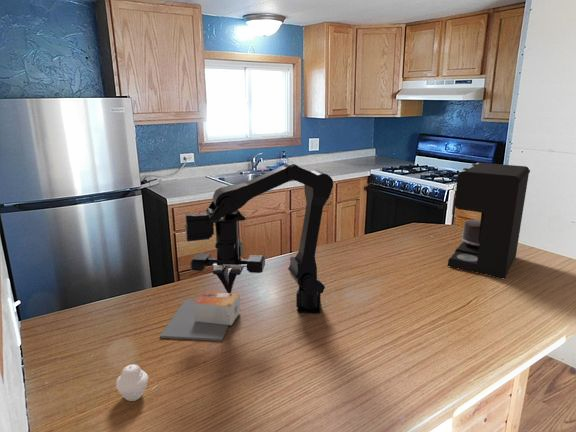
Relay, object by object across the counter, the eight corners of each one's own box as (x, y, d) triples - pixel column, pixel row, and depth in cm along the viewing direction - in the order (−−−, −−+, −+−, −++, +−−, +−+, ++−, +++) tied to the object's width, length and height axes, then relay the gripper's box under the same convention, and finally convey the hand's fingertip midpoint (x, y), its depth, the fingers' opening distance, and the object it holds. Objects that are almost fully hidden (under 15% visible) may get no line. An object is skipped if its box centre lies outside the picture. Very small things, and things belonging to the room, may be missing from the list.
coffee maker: (464, 244, 170) (475, 160, 161) (518, 254, 159) (532, 164, 150) (445, 266, 148) (455, 169, 139) (505, 279, 137) (521, 175, 128)
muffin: (110, 402, 82) (106, 371, 80) (132, 383, 88) (128, 354, 86) (136, 409, 80) (132, 379, 78) (156, 389, 86) (153, 360, 84)
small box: (231, 306, 107) (192, 303, 109) (231, 325, 109) (194, 322, 110) (240, 293, 115) (204, 289, 117) (240, 311, 116) (205, 307, 118)
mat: (238, 303, 122) (238, 301, 122) (222, 340, 103) (222, 338, 103) (186, 300, 123) (185, 299, 123) (160, 337, 104) (159, 335, 104)
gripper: (267, 228, 113) (268, 281, 117) (200, 227, 114) (204, 278, 119) (261, 242, 102) (262, 299, 106) (187, 240, 104) (191, 296, 108)
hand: (229, 292), depth 110 cm, fingers closed
